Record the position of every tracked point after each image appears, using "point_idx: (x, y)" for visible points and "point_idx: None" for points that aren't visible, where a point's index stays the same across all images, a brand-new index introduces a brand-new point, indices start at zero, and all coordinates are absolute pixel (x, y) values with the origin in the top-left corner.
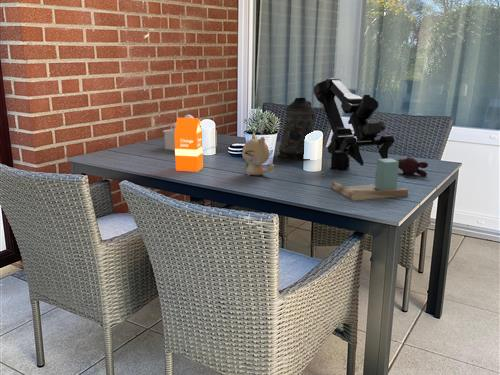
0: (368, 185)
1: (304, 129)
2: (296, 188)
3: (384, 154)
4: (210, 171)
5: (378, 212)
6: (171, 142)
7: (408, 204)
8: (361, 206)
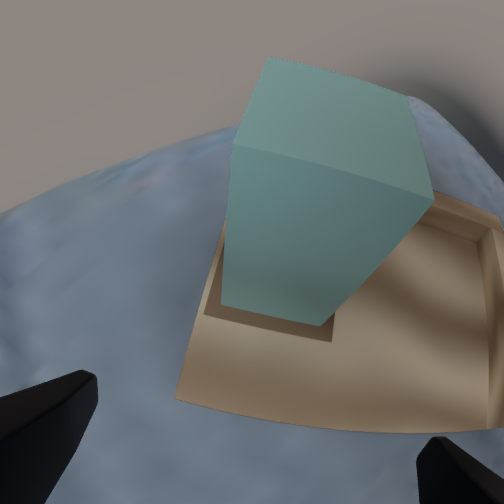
0: (310, 406)
1: None
2: None
3: (15, 452)
4: None
5: (435, 138)
6: None
7: None
8: (466, 190)
